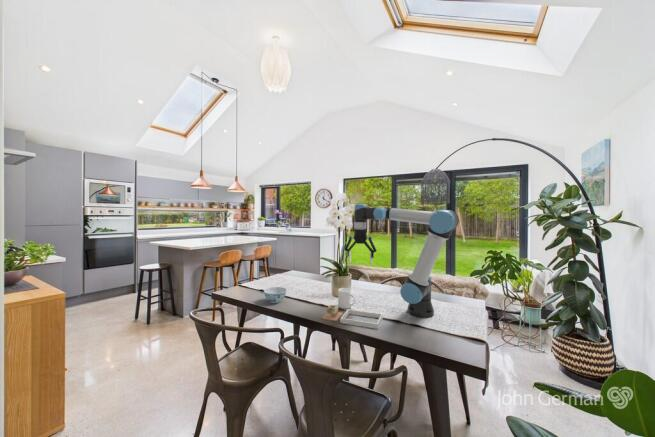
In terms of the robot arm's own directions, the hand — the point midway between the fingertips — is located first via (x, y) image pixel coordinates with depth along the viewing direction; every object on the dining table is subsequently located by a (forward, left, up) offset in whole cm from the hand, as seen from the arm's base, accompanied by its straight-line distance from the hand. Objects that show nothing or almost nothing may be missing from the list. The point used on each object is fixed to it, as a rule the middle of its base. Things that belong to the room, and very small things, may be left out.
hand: (360, 262), depth 171 cm
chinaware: (+56, +10, -29) cm, 64 cm away
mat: (+12, +19, -29) cm, 36 cm away
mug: (+8, +2, -29) cm, 30 cm away
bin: (-6, +19, -29) cm, 35 cm away
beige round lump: (+12, +19, -28) cm, 36 cm away
